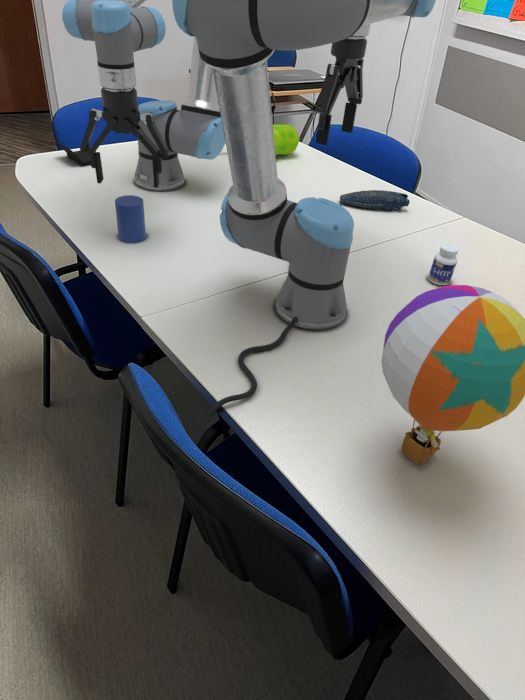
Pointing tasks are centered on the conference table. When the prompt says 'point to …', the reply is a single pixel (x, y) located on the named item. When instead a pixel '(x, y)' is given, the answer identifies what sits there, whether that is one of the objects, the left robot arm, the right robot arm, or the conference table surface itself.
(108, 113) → the left robot arm
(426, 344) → the toy
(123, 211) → the can
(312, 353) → the conference table surface
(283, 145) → the decorative tree
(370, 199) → the fish model
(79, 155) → the black handled block
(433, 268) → the pill bottle
